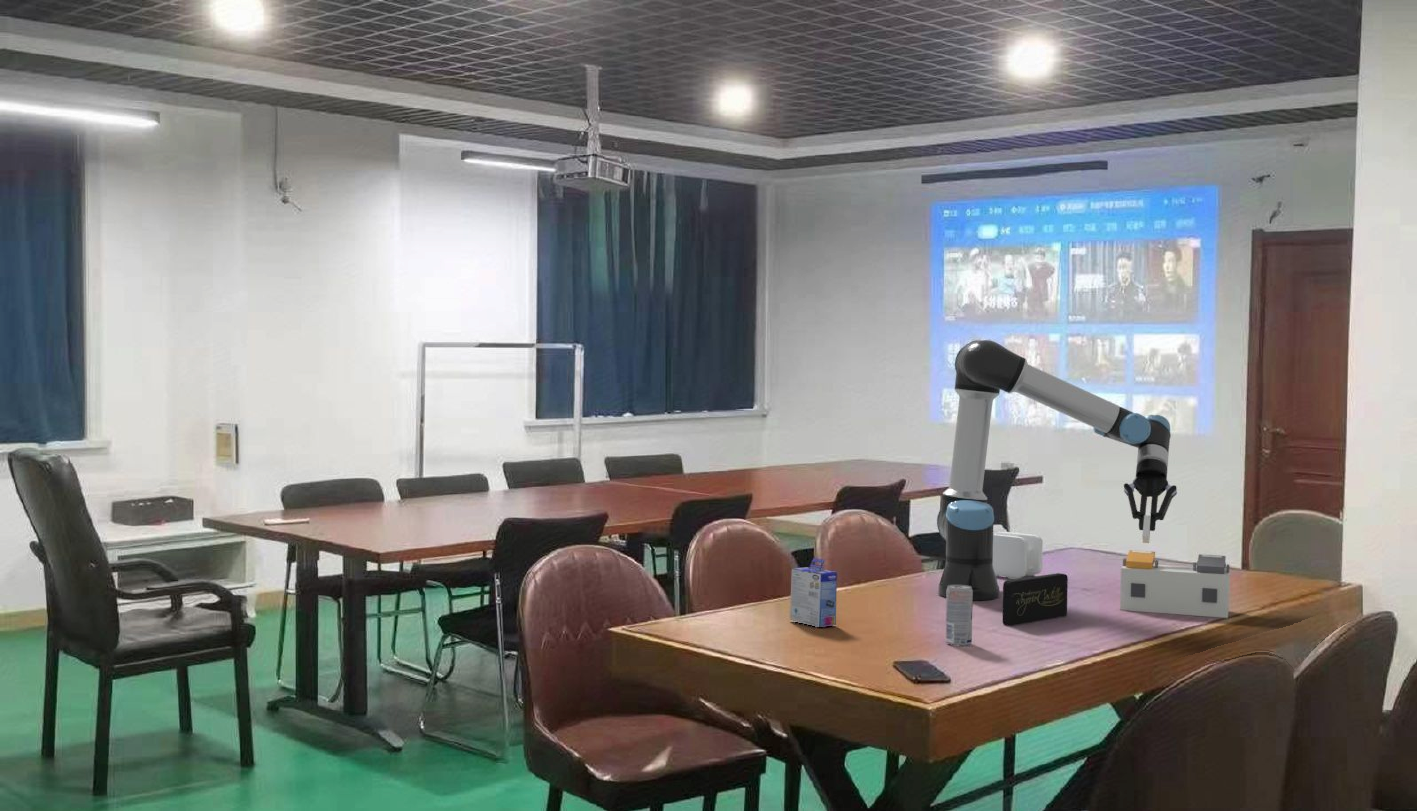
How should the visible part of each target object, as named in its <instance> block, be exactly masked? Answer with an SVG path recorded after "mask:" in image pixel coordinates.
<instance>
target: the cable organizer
mask: <svg viewBox="0 0 1417 811" xmlns="http://www.w3.org/2000/svg"><path fill="white" fill-rule="evenodd" d="M1043 543H1044V542H1043V539H1042V538H1041V537H1040V536H1039V535H1037V534H1030V533H1029V534H1028V533H1021V532H1012V531H1011V532H1010V531H998V532H995V533H993V569H994V572H995V575H996V578H997V577H1007V579H1008V580H1014V579H1021V578H1025V576H1027V577H1035V576H1036V575H1038V574H1040V573H1041V572H1042V570H1043V550H1044V548H1043V546H1044V545H1043Z"/></svg>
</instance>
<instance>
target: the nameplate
mask: <svg viewBox="0 0 1417 811" xmlns="http://www.w3.org/2000/svg"><path fill="white" fill-rule="evenodd" d="M1068 579H1069V578H1068V575H1067V574H1066V573H1059V572H1057V573H1051V574H1050V573H1049V574H1044V575H1038V576H1036V575H1034V576H1027V577H1021V578H1019V579H1008V580H1005V581H1004V582H1003V585H1002V624H1003V625H1005V626H1010V627H1013V626H1018V625H1024V624H1030V623H1031V624H1032V623H1035V622H1041V621H1047V620H1053V619H1058V618H1064V617H1066V616H1067V614H1068V581H1069V580H1068Z"/></svg>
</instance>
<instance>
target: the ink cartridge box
mask: <svg viewBox="0 0 1417 811" xmlns="http://www.w3.org/2000/svg"><path fill="white" fill-rule="evenodd" d="M817 562H818V563H819V564H820V565H818V564H815V563H817ZM824 563H825V559H821V558H816V557H813V559H812V560H811V562H810V565H809V567H807V566H806V567H795V568H792V569H791V579H790V581H791V582H790V584H791V585H790V608H789V609H790V611H789V613H790V614H789V621H790V620H793V621H797V622H800V623H804V624H808V625H812V626H815V627H814V628H817V627H823V628H827V627H826V626H832V627H834V626H833V625H836V624H837V589H838V588H837V587H838V581H837V580H838V572H837V571H833V570H827V569H823V566H824ZM804 624H803V625H804ZM808 625H807V626H808ZM812 626H811V627H812ZM836 626H837V625H836Z"/></svg>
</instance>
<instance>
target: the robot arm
mask: <svg viewBox="0 0 1417 811" xmlns="http://www.w3.org/2000/svg"><path fill="white" fill-rule="evenodd" d="M954 369H955V380H954V392H956V394H957V395H958V407H957V414H956V415H957V416H956V417H957V418H956V426H955V433H954V442H953V451H952V452H953V453H952V459H951V460H952V461H951V468H950V478H949V487H948V488H947V489H946V490H944V491H943V492H942V497H941V505H940V509H939V511H938V514H937V517H936V527H937V530H938V532H939V534H940V537H941V538H943V540H944V541H946V542H945V566H944V568H943V572H942V575H941V578H940V581H939V583H938V590H937V592H938V596H940V597H944V598H946V590H947V588H948V585H967V586H971V587H972V591H973V599H972V601H985V600H986V601H987V600H988V601H989V600H994V599H995V600H996V599H998V598H1000V587H999V584H998V579H997V577H996V575H995V572H994V569H993V534H994V522H995V516H994V508H993V506H991V504H989V503H988V497H987V495H986V494H985V493H984V491H983V489H984V480H985V479H984V478H985V470H986V461H987V452H988V443H989V436H990V425H991V419H992V418H991V417H992V409H993V401H994V400H995V399H996V398H997V397H999V396H1000V392H1001V391H1003V392H1006V393H1007V394H1012V393H1017V394H1019V395H1021V396H1024V397H1026V398H1028V399H1030V400H1032V401H1035V402H1037V403H1040V404H1041V405H1044V406H1046V407H1048V408H1050V409H1053V410H1054V411H1057V412H1059V413H1061V414H1063V415H1066V416H1068V417H1070V418H1072V419H1075V420H1076V421H1079V422H1081V423H1083V424H1086V425H1088V426H1090V427H1092V428H1093V431H1094V433H1095V434H1097V435H1100V436H1102V437H1103V438H1108V439H1111V440H1114V441H1117V442H1119V443H1122V444H1126V445H1129V446H1131V447H1134V448H1137V449H1138V451H1137V459H1136V468H1135V469H1136V470H1135V471H1136V472H1135V478H1134V479H1133V480H1132V482H1131V483H1128V482H1127V483H1126V482H1125V483H1124V484H1123V492H1124V493H1125V495H1126V496H1127V498H1128V502H1129V503H1128V504H1129V507H1130V511H1131V516H1132V518H1133V520H1138V529H1139V531H1142V543H1143V544H1150V540H1151V539H1150V538H1151V532H1154V531H1155V530H1156V522H1157V521H1163V520H1165V516H1166V514H1167V512H1168V510H1169V507H1170V505H1171V503H1172V500H1173V499H1174V497H1175V496H1176V495H1177V494H1178V491H1177V490H1178V489H1177V485H1170V484H1169V481H1168V467H1169V455H1170V454H1169V450H1170V439H1171V424H1170V422H1169V420H1168V418H1166V417H1165V416H1163V415H1159V414H1149V415H1146V416H1144V415H1142V414H1140V413H1138V412H1133V411H1131V410H1129V409H1127V408H1124V407H1121V406H1120V405H1117V404H1116V403H1114V402H1112V401H1108V400H1107V399H1105V398H1102V397H1100V396H1098V395H1096V394H1093V393H1092V392H1090V391H1087V390H1085V389H1082V388H1080V386H1079V387H1078V386H1076V385H1075V384H1072V383H1070V382H1068V381H1065V380H1063V379H1061V378H1058V377H1056V376H1054V375H1052V374H1050V373H1049V372H1046V371H1044V370H1041V369H1040V368H1037V367H1035V366H1033V365H1030V364H1028V360H1027V359H1026V358H1025V357H1022V356H1020V355H1018V354H1016V353H1015V352H1013V351H1011V350H1010V349H1008V348H1006V347H1005V346H1003V345H1001V344H999V343H998V342H996V341H993V340H988V339H987V340H986V339H982V340H972V341H970V342H967V343H966V344H964V345H963V346H962V347H961V348H960V349H959V350H958V352H957V354H956V356H955V360H954ZM1135 490H1136V492H1138V494H1140V506H1139V511H1138V508H1137V504H1136V500H1135V494H1134V492H1135ZM1165 491H1166V492H1165ZM1164 492H1165V495H1164V497H1163V500H1162V502H1161V505H1160V507H1159V510H1158V501H1159V500H1158V499H1159V496H1161V495H1162V493H1164ZM1149 497H1151V506H1150V512H1149V513H1150V515H1148V514H1147V515H1146V512H1147V503H1148V498H1149ZM1157 511H1158V512H1157Z"/></svg>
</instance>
